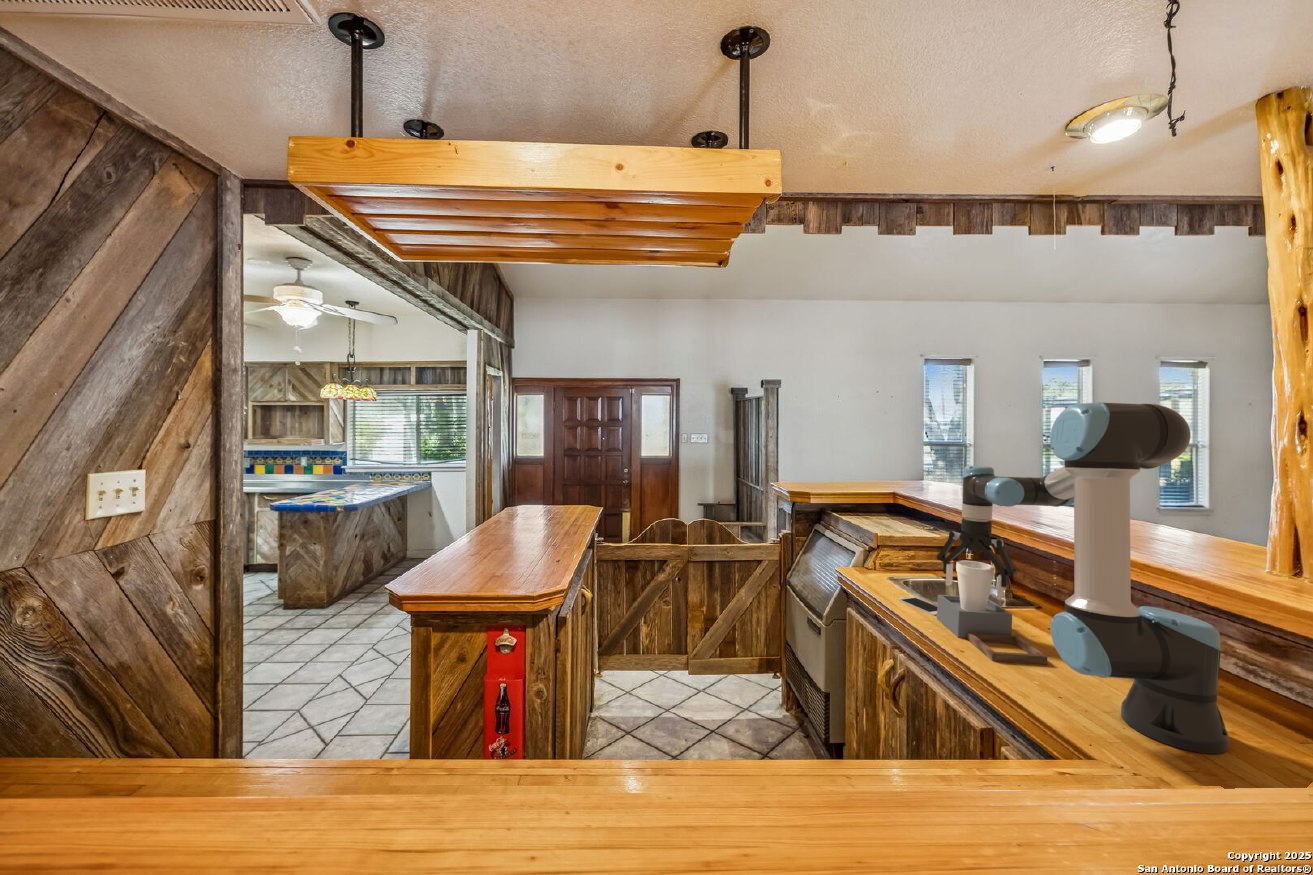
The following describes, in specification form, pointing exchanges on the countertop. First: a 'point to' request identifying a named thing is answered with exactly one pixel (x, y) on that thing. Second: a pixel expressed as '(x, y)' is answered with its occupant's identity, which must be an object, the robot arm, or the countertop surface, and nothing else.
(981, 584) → the foam cup
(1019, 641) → the walnut collar
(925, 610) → the smartphone
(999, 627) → the charcoal stand
